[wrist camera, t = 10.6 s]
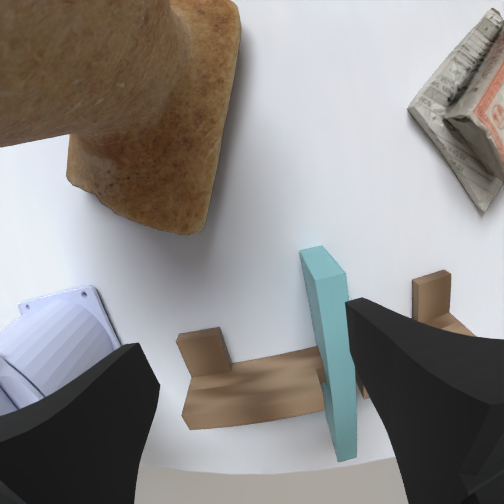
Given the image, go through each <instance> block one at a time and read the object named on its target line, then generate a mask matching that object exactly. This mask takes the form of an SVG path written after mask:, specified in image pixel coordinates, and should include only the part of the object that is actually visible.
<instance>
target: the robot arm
mask: <svg viewBox="0 0 504 504" xmlns="http://www.w3.org/2000/svg"><path fill="white" fill-rule="evenodd" d="M84 292H86V294H87V296H86V295H85V294H84ZM18 308H19V310H20V313H21V316H20V317H18V318H17V319H16V320H15V321H13V322H12V323H11V324H9V325H8V326H7V327H6V328H5V329H3V330H2V331H1V332H0V504H134V498H135V489H136V481H137V475H138V468H139V463H140V459H141V456H142V452H143V449H144V446H145V443H146V440H147V437H148V434H149V431H150V428H151V425H152V421H153V418H154V415H155V412H156V409H157V403H158V398H159V391H160V384H159V382H158V380H157V378H156V376H155V374H154V373H153V371H152V369H151V367H150V365H149V363H148V361H147V358H146V356H145V354H144V352H143V350H142V348H141V346H140V344H139V343H132V344H125V345H123V346H121V345H120V343H119V341H118V339H117V337H116V335H115V333H114V330H113V328H112V326H111V324H110V322H109V319H108V317H107V315H106V313H105V310H104V308H103V305H102V303H101V301H100V298H99V296H98V293H97V291H96V289H95V288H94V287H93V286H85V287H81V288H76V289H72V290H68V291H64V292H60V293H56V294H51V295H47V296H43V297H39V298H35V299H31V300H27V301H22V302H20V303H19V304H18ZM345 309H346V318H347V328H348V338H349V350H350V354H351V357H352V360H353V362H354V365H355V368H356V370H357V373H358V375H359V377H360V379H361V381H362V383H363V385H364V387H365V389H366V391H367V393H368V395H369V397H370V399H371V400H372V402H373V404H374V406H375V408H376V410H377V412H378V414H379V416H380V418H381V420H382V422H383V424H384V426H385V428H386V431H387V433H388V436H389V439H390V441H391V444H392V447H393V450H394V453H395V456H396V459H397V463H398V465H399V469H400V473H401V476H402V479H403V483H404V487H405V491H406V495H407V499H408V503H409V504H504V340H503V339H490V338H482V337H475V336H469V335H463V334H459V333H454V332H451V331H447V330H443V329H439V328H436V327H432V326H429V325H427V324H424V323H421V322H418V321H416V320H413V319H410V318H408V317H406V316H403V315H401V314H399V313H396V312H394V311H392V310H390V309H387V308H385V307H383V306H381V305H379V304H377V303H375V302H372V301H370V300H368V299H365V298H363V297H362V298H358V299H354V300H350V301H347V302H345Z"/></svg>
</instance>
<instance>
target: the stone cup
mask: <svg viewBox="0 0 504 504" xmlns="http://www.w3.org/2000/svg"><path fill="white" fill-rule="evenodd" d="M240 38H241V22H240V16H239V11H238V7H237V5H236V4H235V3H234V2H232V1H231V0H0V147H6V146H12V145H17V144H21V143H26V142H31V141H36V140H42V139H47V138H53V137H57V136H61V135H66V134H70V139H69V148H68V160H67V172H66V177H67V179H68V181H69V182H70V183H71V184H72V185H73V186H76V187H79V188H81V189H82V190H84V191H86V192H89V193H93V194H95V195H96V196H97V197H98V199H99V200H100V202H101V203H102V204H104V205H105V206H107V207H109V208H110V209H111V210H112V211H113V212H114V213H115V214H117V215H120V216H123V217H125V218H127V219H129V220H132V221H134V222H137V223H140V224H143V225H146V226H149V227H152V228H155V229H158V230H163V231H168V232H172V233H177V234H181V235H190V234H193V233H195V232H201V231H202V229H203V228H204V226H205V222H206V218H207V213H208V209H209V204H210V199H211V194H212V188H213V184H214V181H215V176H216V171H217V166H218V161H219V155H220V150H221V142H222V135H223V129H224V125H225V120H226V116H227V112H228V107H229V102H230V96H231V91H232V86H233V81H234V75H235V68H236V62H237V56H238V50H239V44H240Z"/></svg>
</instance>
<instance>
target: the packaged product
mask: <svg viewBox="0 0 504 504" xmlns="http://www.w3.org/2000/svg"><path fill="white" fill-rule="evenodd" d="M407 109H408V111H409V112H410V113H411V115H412V116H413V117H414V118H415V119H416V121H417V122H418V123H419V124H420V126H421V127H422V128H423V129H424V131H425V132H426V133H427V134H428V136H429V137H430V138H431V140H432V141H433V142H434V144H435V145H436V146H437V147H438V149H439V150H440V152H441V153H442V155H443V156H444V158H445V159H446V161H447V162H448V163H449V165H450V166H451V168H452V169H453V171H454V172H455V174H456V175H457V177H458V179H459V180H460V182H461V183H462V185H463V186H464V188H465V190H466V191H467V193H468V194H469V196H470V198H471V199H472V200H473V202H474V203H475V204H476V206H477V207H478V209H480V210H482V211H484V212H486V210H487V208H488V206H489V204H490V203H491V201H492V199H493V198H494V197H495V196H496V195H497V193H498V192H499V190H500V188H501V186H502V184H503V183H504V20H503V18H502V17H501V15H500V13H499V12H498V11H497V10H495V9H494V8H491V9H490V10H489V11H487V13H486V14H485V15H484V17H483V18H482V19H481V21H480V22H479V23H478V24H477V25H476V26H475V27H474V28H473V29H472V30H471V31H470V32H469V33H468V34H467V35H466V37H465V38H464V39H463V40H462V41H461V42H460V43H459V44H458V45H457V46H456V48H455V49H454V50H453V51H452V52H451V53H450V54H449V56H448V57H447V58H446V59H445V60H444V62H443V63H442V64H441V65H440V66H439V67H438V69H437V70H436V71H435V72H434V74H433V75H432V76H431V77H430V79H429V80H428V81H427V82H426V83H425V85H424V86H423V87H422V88H421V90H420V91H419V92H418V94H417V95H416V96H415V98H414V99H413V100H412V102H411V103H410V105H409V106H408V108H407Z"/></svg>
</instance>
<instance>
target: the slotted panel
mask: <svg viewBox="0 0 504 504" xmlns="http://www.w3.org/2000/svg"><path fill="white" fill-rule="evenodd" d="M299 252H300V257H301V262H302V267H303V272H304V278H305V283H306V288H307V294H308V299H309V305H310V310H311V316H312V322H313V328H314V334H315V340H316V343H317V346H318V349H319V352H320V355H321V358H322V361H323V366H324V373H325V380H326V383H323V384H322V385H323V393H324V400H325V407H326V415H327V421H328V425H329V429H330V433H331V437H332V441H333V445H334V449H335V453H336V457H337V461H338V462H342V461H345V460H349V459H353V458H356V455H357V411H356V381H355V365H354V362H353V360H352V357H351V354H350V350H349V338H348V328H347V318H346V309H345V302H347V301H349V295H348V287H347V279H346V273H345V271H344V270H343V269H342V268H341V267H340V265H339V264H338V263H337V262H336V261H335V260H334V258H333V257H332V256H331V255H330V254H329V252H328V251H327V250H326V249H325V248H324V247H323V246H318V247H314V248H309V249H305V250H301V251H299Z"/></svg>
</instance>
